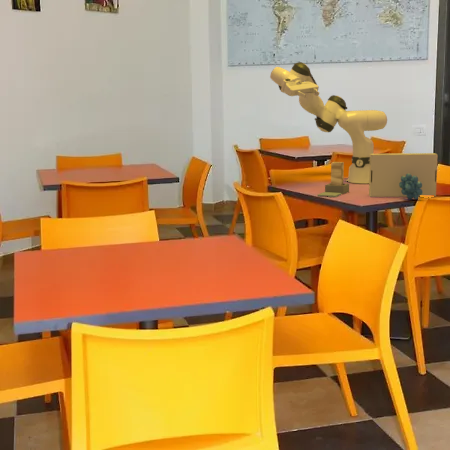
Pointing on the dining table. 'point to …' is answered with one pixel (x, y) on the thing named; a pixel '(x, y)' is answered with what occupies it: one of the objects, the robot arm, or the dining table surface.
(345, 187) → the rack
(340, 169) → the block
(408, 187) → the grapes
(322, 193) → the mat
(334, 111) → the robot arm
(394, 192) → the packaging
